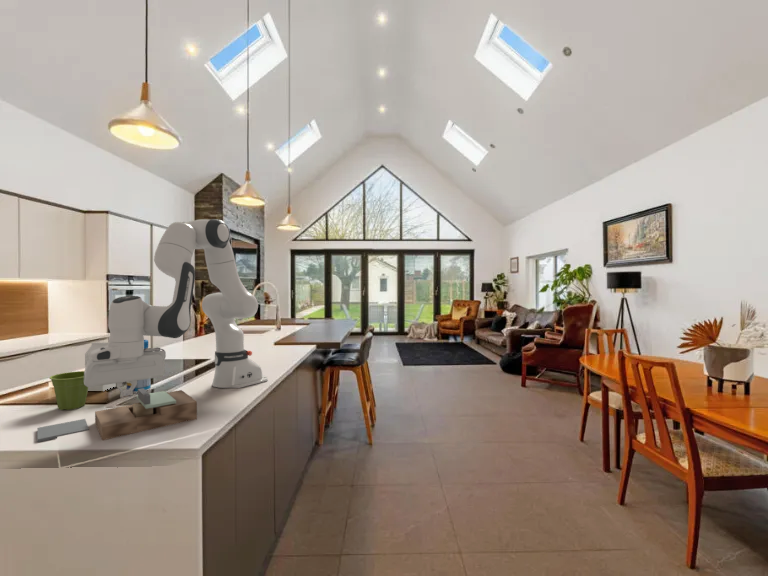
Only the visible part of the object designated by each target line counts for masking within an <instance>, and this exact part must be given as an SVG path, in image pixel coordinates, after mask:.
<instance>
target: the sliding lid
mask: <svg viewBox="0 0 768 576" xmlns="http://www.w3.org/2000/svg"><path fill="white" fill-rule="evenodd" d="M167 392H168V391H165V390H162V391H161V390H160V391H156V392H150V393H148V391H146V390H145V389H144V388H142V389H138V393H137V395H136V399H137V400H138V401H139V403H141V404H142V405H143V406H144V407H145V408H146V409H148V408H153V407H159V406H164V405H169V404H174V403H176V400H175V399H174V398H173V397H171V396H170V395H169V394H168V393H167Z"/></svg>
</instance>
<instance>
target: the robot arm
mask: <svg viewBox="0 0 768 576" xmlns="http://www.w3.org/2000/svg"><path fill="white" fill-rule="evenodd" d="M195 250H204V258H205V259H204V260H205V264H206V269H207V273H208V277H209V281H210V282H211V284H212V285H214V286H215V287H217V288H218V289H219V292H213V293H210V294H207V295H206V296H204V298H203V299H202V302H201V309H202V312H203V313H204V314H205V316H207V317H208V318H209V321H210V322H211V324H212V326H213V330H214V333H215V351H214V365H215V369H214V376H213V379H212V384H211V386H212V387H214V388H219V389H222V388H223V389H226V388H227V389H229V388H233V389H239V388H240V389H241V388H244V387H248V386H253V385H256V384H260V383H264V382H267V381H268V376H266V375H264V374H263V370H262V367H261V366H260V364H258V363H257V362H256V361H253V360H252V359H251V358H249V357H250V356H252V355H253V351H251V350H246V349H245V335H244V331H243V330H242V328H240V327H239V325H237V323H236V321H235V320H236V319H239V320H242V319H249V318H251V317H254V316H255V315H256V313H257V312H258V308H259V302H258V299H257V298H256V296H255V295H254V294H252V293H251V292H249V290H248V289H247V288H246V287H245V286H244V283H243V282H242V280H241V278H240V276H239V272H238V269H237V264H236V260H235V255H234V254H235V253H234V250H233V248H232V245H231V243H230V228H229V226H228V225H227V224H226V222H225V221H223V220H222V219H218V218H217V219H216V218H212V219H206V218H204V219H195V220H190V221H183V222H182V221H175V222H173V223H170V224H169V226H167V227H166V230H165V231H164V233H163V234H162V236H161V238H160V240H159V243H158V245H157V246H156V250H155V252H154V258H153V261H154V264H155V266H156V268H157V269H158V270H160V272H162V273H163V274H165V275H166V276H168V277H171V278H173V279H174V280H175V281H174V282H175V284H174V285H175V286H174V291H173V295H172V296H173V297H172V301H171V303H170V304H169V305H167V306H164V305H163V306H161V305H160V306H159V305H152V304H149V303H147V302H146V301H144V300H143V299H142V297H141V296H138V295H128V296H127V295H126V296H125V295H124V296H120V297H116V298H115V299H113V300H112V301H111V303H110V306H109V309H108V310H109V311H108V322H107V324H108V329H109V330H108V331H109V338H108V342H107V343H108V346H105V347H102V348H99V349H96V350H93V351H91V352H90V354H89V357H90V359H91V360H89V361H88V362H87V364H86V367H85V366H84V370H83V371H84V385H85V386H87V387H94V386H101V385H108V384H115V383H116V387H115V388H117V389H118V391H119V392H120V393H119V397H120V399H121V398H127V397H132V396H133V394H134V393H133V390H134V388H135V387H136V385H137V380H144V379H150V380H151V379H156V378H157V379H158V378H163V377H164V376H165V374H166V365H165V364H166V363H165V360H166V356H167V354H166V350H165V349H163V348H161V347H150V348H149V347H148V348H147V349H144V340H145V337H144V336H150V337H164V338H169V339H179V338H180V337H182V336H184V335H185V333H187V331H188V330H189V329H190V326H191V320H192V319H191V318H192V317H191V307H192V301H193V296H194V295H193V293H194V290H195V289H194V288H195V287H194V286H195V281H196V270H195V267H194V265H192V258H193V255H194V252H195ZM127 382H130V383H131V384H132V385H131V387H130V389H129V390H126V389H124V390H123V388H122V387H123V383H127Z"/></svg>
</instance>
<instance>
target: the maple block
mask: <svg viewBox="0 0 768 576" xmlns="http://www.w3.org/2000/svg"><path fill="white" fill-rule="evenodd" d="M132 405H133V415H134V417H135V418H137V417H142V416H147V415H152V414H153V408H148V409H146V408H145V407H144V406H143V405H142V404H141V403H140V402H135V403H132Z"/></svg>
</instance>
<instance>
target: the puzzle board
mask: <svg viewBox="0 0 768 576" xmlns="http://www.w3.org/2000/svg"><path fill="white" fill-rule="evenodd" d="M166 392H167V393H168V394H169V395H170V396H171V397H173V398H174V399H175V400H176V403H174V404H169V405H164V406H159V407H153V414H152V415H147V416H142V417H137V418H135V417H134V415H133V404H131V405H124V406H123V405H122V406H119V407H118V406H117V407H113V408H108V409H107V408H106V409H100V410H96V411H95V412H94V421H95V422H94V424H95V426H96V428H97V431H98V433H99V436H100V438H101V440H102V441H106V440H109V439H114V438H119V437H123V436H124V437H125V436H127V435H133V434H137V433H141V432H145V431H150V430H154V429H158V428H165V427H167V426H172V425H177V424H182V423H185V422H191V421H194V420H198V407H197V406H198V402H197V400H196V399H194V398H193V397H191V395H189V394H188V393H187V392H185V391H184V390H183V389H180V390H175V391H166Z"/></svg>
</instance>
